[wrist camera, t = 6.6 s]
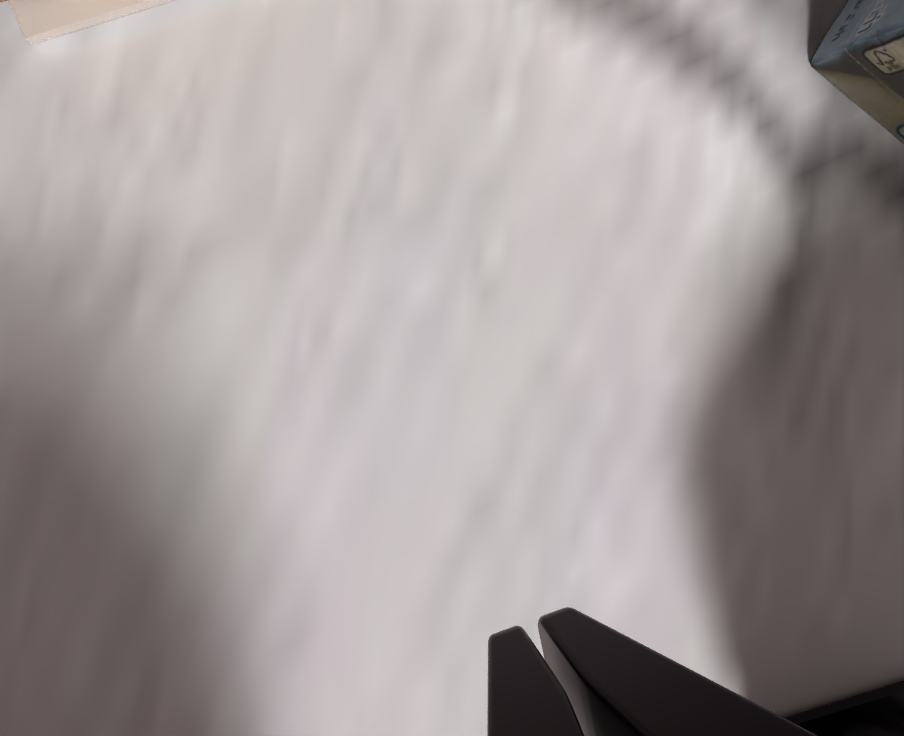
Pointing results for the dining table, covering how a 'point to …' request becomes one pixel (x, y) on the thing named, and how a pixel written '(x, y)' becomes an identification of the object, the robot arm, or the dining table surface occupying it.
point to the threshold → (70, 14)
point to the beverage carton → (868, 59)
